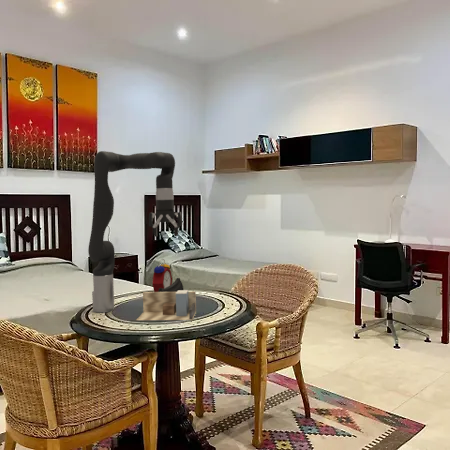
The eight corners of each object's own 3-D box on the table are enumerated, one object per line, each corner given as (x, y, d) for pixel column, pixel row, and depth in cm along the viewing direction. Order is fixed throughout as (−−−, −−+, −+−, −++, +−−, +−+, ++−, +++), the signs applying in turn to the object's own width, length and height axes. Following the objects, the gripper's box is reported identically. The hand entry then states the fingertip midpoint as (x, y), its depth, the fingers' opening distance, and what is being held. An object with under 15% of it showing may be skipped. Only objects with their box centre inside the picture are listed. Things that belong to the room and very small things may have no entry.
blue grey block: (176, 316, 195) (175, 293, 195) (178, 312, 202) (178, 290, 202) (186, 316, 195) (186, 293, 194) (188, 312, 202) (188, 290, 201)
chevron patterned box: (135, 322, 190) (134, 299, 190) (144, 313, 205) (143, 292, 204) (191, 322, 189) (191, 298, 188) (196, 313, 204) (195, 291, 203)
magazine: (159, 293, 206) (180, 265, 233) (153, 293, 207) (174, 265, 234) (164, 325, 212) (184, 294, 239) (158, 325, 213) (178, 294, 240)
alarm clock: (163, 297, 240) (162, 260, 239) (148, 296, 242) (147, 260, 241) (173, 291, 254) (171, 256, 253) (158, 291, 256) (157, 256, 255)
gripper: (146, 199, 189) (147, 237, 190) (179, 198, 188) (180, 236, 189) (150, 199, 197) (151, 236, 198) (182, 198, 196) (183, 235, 197)
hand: (165, 236), depth 193 cm, fingers open, 8 cm apart
